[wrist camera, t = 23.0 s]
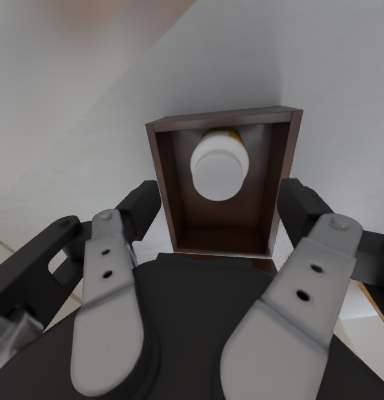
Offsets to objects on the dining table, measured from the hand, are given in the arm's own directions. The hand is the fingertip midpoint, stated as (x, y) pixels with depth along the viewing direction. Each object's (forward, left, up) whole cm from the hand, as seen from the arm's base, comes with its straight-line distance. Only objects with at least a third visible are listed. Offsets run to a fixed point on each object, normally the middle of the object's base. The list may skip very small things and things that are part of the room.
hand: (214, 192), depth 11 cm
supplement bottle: (0, 0, -12) cm, 12 cm away
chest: (+5, 0, -13) cm, 14 cm away
